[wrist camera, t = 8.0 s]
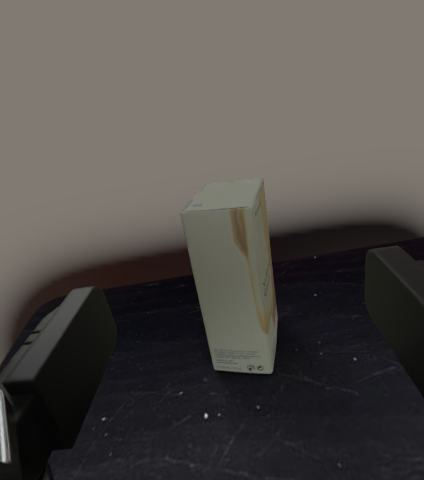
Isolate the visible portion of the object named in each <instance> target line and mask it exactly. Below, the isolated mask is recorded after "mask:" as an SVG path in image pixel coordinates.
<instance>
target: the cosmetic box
mask: <svg viewBox="0 0 424 480" xmlns="http://www.w3.org/2000/svg"><path fill="white" fill-rule="evenodd" d="M264 193H265V192H264V183H263V179H262V178H261V179H249V180H237V181H226V182H216V183H209V184H206V185H205V186H204V187H203V188H202V189H201V190H200V192H199V193H197V194H196V195H195V196H194V197H193V199H192V200H191V201H190V202H189V204H188V205H187V206H186V207H185V208H184V209H183V210H182V211H181V213H180V214H181V219H182V224H183V228H184V233H185V237H186V242H187V247H188V252H189V256H190V261H191V266H192V270H193V275H194V279H195V284H196V288H197V293H198V298H199V302H200V307H201V311H202V316H203V321H204V325H205V330H206V335H207V339H208V344H209V349H210V353H211V358H212V363H213V367H214V369H215V370H222V371H233V372H244V373H264V374H271V373H272V372H273V366H274V359H275V351H276V341H277V320H278V318H277V308H276V298H275V289H274V280H273V270H272V261H271V253H270V242H269V232H268V223H267V212H266V203H265V194H264Z"/></svg>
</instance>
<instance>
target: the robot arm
mask: <svg viewBox="0 0 424 480" xmlns="http://www.w3.org/2000/svg"><path fill="white" fill-rule="evenodd" d="M365 303H366V307H367V310H368V313H369V315H370V317H371V318H372V320H373V321H374V323H375V324H376V326H377V327H378V329H379V331H380V332H381V334H382V335H383V337H384V338H385V340H386V341H387V343H388V344H389V346H390V347H391V349H392V350H393V352H394V353H395V355H396V356H397V358H398V360H399V361H400V363H401V364H402V366H403V367H404V369H405V370H406V372H407V373H408V375H409V376H410V378H411V379H412V381H413V382H414V384H415V386H416V387H417V389H418V390H419V392H420V393H421V395H422V396H423V398H424V261H422V260H421V261H415V260H414V259H413V258H412V257H411V256H409V255H408V254H407V253H406V252H405V251H404V250H403V249H402V248H400V247H399V246H393V247H385V248H378V249H370V250H368V252H367V254H366V269H365ZM116 341H117V328H116V325H115V322H114V319H113V316H112V314H111V311H110V308H109V306H108V303H107V300H106V298H105V295H104V293H103V291H102V289H101V288H100V287H99V286H92V287H85V288H78V289H73V290H72V291H71V292H70V293H69V294H68V296H67V297H66V298H65V300H64V301H63V302H62V304H61V305H60V306H59V307H57V308H56V309H55V310H53V311H52V312H51V313H50V314H48V315H47V316H46V317H45V318H43V319H42V321H41V322H40V323H39V324H38V326H37V327H36V328H35V329H34V331H33V334H31V335H30V336H29V337H28V338H27V340H26V341H25V342H24V345H22V346H21V347H20V349H19V350H18V351H17V352H16V354H15V355H14V356H13V358H12V359H11V360H10V361H9V363H8V364H7V365H6V366H5V368H4V369H3V370H2V372H1V373H0V480H54V479H53V475H52V470H51V467H50V465H49V464H48V462H47V461H48V459H49V457H50V455H51V453H52V450H63V449H72V448H73V446H74V443H75V441H76V439H77V436H78V434H79V431H80V429H81V427H82V424H83V422H84V420H85V417H86V415H87V412H88V410H89V408H90V405H91V403H92V400H93V398H94V396H95V393H96V391H97V388H98V386H99V384H100V381H101V379H102V376H103V374H104V372H105V369H106V367H107V365H108V362H109V360H110V357H111V355H112V353H113V350H114V348H115V345H116Z"/></svg>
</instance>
